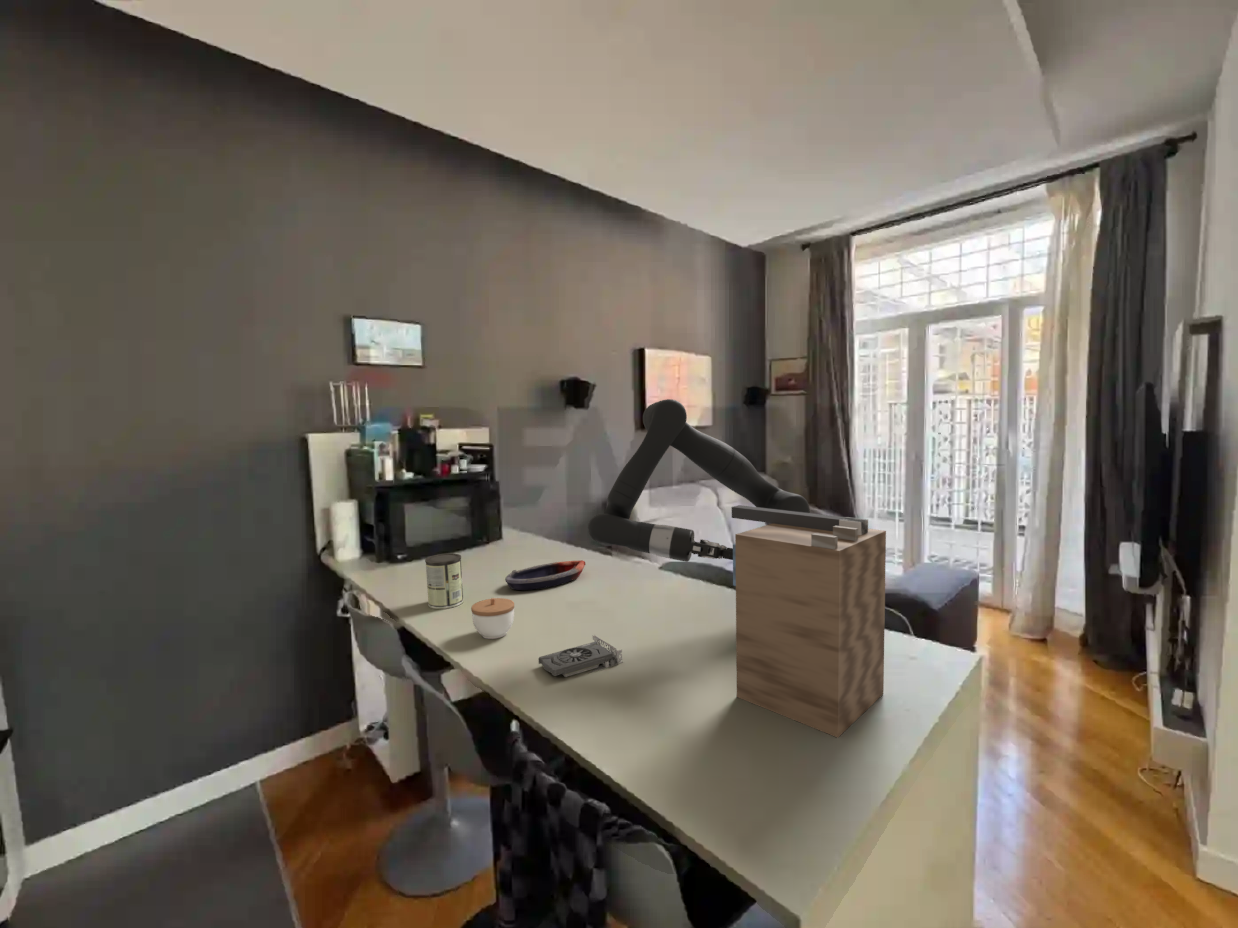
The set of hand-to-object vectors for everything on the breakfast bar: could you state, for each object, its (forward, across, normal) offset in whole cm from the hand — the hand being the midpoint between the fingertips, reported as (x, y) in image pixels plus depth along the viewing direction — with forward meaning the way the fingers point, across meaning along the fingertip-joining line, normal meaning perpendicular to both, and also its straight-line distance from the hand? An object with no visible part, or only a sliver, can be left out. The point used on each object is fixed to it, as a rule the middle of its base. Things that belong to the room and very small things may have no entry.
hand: (741, 555), depth 125 cm
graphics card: (-31, -8, +31) cm, 44 cm away
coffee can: (-84, +22, +32) cm, 93 cm away
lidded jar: (-58, +3, +32) cm, 66 cm away
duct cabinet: (+17, -12, +23) cm, 32 cm away
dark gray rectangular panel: (+10, -12, -9) cm, 18 cm away
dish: (-63, +47, +23) cm, 82 cm away
